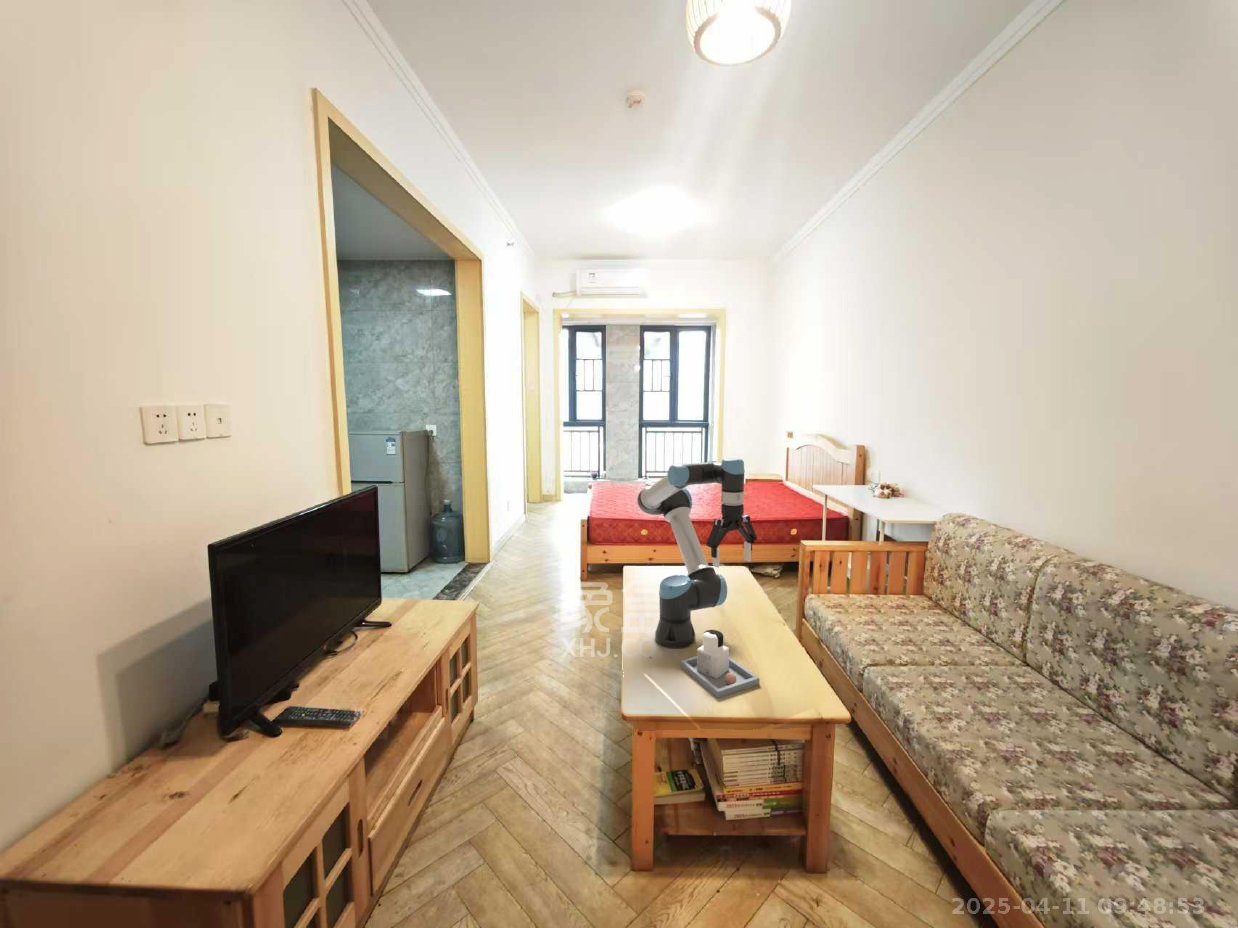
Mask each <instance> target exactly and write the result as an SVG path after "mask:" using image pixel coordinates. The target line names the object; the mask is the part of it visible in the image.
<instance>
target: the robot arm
mask: <svg viewBox="0 0 1238 928" xmlns="http://www.w3.org/2000/svg"><path fill="white" fill-rule="evenodd" d="M706 484H719V485H721V493H720V494H721V500H720V501H721V506H720V507H721V508H720V509H721V511H720V513H721V516H722V517H721V518H714V519H713V525H712V528H711V531H710V534H709V535H708V538H707V541H706V544H705V545H706V547H708V548H710V552H711V554H710V555H711V558H712V566H711V565H710V564H709V563H708V560H707V558H706V556H705V553H704V551H703V548H702V546H701V542H700V540H699V537H698V535H697V533H696V530H695V528H694V525H693V522H692V520H691V518H690V514H691V512H692V507H693V498H692V495H691V493H690V491H689V490H688V489H687V487H689V486H695V485H706ZM744 491H745V462H744V460H743V459H742V458H735V457H732V458H731V457H730V458H729V457H728V458H723V459H722V460H721V462H720V461H719V462H718V461H716V460H714V461H713V460H712V461H710V460H709V461H706V462H694V463H677V464H672V465H670V466H668V470H667V474H666V475H665V476H663V478H661V479H660V480H658V481H657V482H655V483H654V484H653V485H651V486H650V485H649V486H645V487H644V488H642V490H640V492H639V493H638V495H637V500H636V501H637V505H638V507H639V509H640V510H641V511H642V512H643V513H645V514H646V515H650V516H659V515H660V516H661V515H663V518H664V520H665V522H668V523H669V524H670V528H671V530H672V532H673V535H674V538H675V540H676V542H677V546H678V549H679V552H680V553H681V557H682V559H683V562H684V565H685V568H686V571H687V575H685V574H684V575H683V574H680V575H679V574H676V575H670V576H667V577H665V578H663V579H662V580H661V582H660V584H659V590H658V591H659V592H658V596H659V620H658V622H657V623H658V624H657V626H656V630H655V632H654V633H655V635H654V636H655V637H654V640H655V641H656V642H657V643H658V644H659V645H661V646H663V647H666V648H669V649H683V648H689V647H691V646H692V645H694V644H695V642H696V632H695V629H694V625H693V623H692V617H691V615H692V613H691V612H692V611H697V610H705V609H709V608H715V607H719V606H721V605H723V604H724V603H726V600H727V598H728V597H727V596H728V586H727V581H726V578H725V577H724V576H723V575H722V574H719V573H716V571H715V568H720V548H719V546H720V544H721V543H722V541H723V540H724V538H725V537H726V536H727V534H728V533H729V532H732V531H738V532H739V533H740V535H741V536H742V537H743V538H744V542H743V560H744V561H747V562H751V561H752V560H751V559H752V551H753V544H755V541H757V540H758V537H757V535H756V532H755V529H754V527H753V524H752V522H751V516H750V515H747V514H745V512H744V510H745V508H744V507H745V504H744V502H745V499H744V498H745V492H744ZM743 524H744V525H743ZM714 567H715V568H714Z"/></svg>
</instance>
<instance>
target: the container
mask: <svg viewBox="0 0 1238 928" xmlns="http://www.w3.org/2000/svg"><path fill="white" fill-rule="evenodd" d="M696 656H697V671H699V672H701V673H703V674H706V675H708V676H711V677H713V678H716V679H718V678H719V677H720V676H722V675H723V674H724V673H725V672H727V671H728V670H729V657H730V647H728V646H725V645H724V634H723V632H721V631H719V630H716V629H707V630H705V631H704V632H703V633H702V645H701V646H700V647H698V648H697V649H696Z"/></svg>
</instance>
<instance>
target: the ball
mask: <svg viewBox="0 0 1238 928" xmlns="http://www.w3.org/2000/svg"><path fill="white" fill-rule="evenodd" d="M725 681H726V683H727V684H728V685H731V684H734V683H736V676H735V675H734V674H733V673H728V674H726V676H725Z"/></svg>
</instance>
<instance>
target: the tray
mask: <svg viewBox="0 0 1238 928" xmlns="http://www.w3.org/2000/svg"><path fill="white" fill-rule="evenodd" d="M680 667H681V669H683V670H684V671H685V672H687V674H689V676H691V677H693V679H695V681H696V682H698V683H699V684H700V685H702V686H703V688H705V689H706V690H708V691H709V692H710V693H711V694H712V695H713V696H715V698H716V699H720V698H724V697H727V696H729V695H732V694H734V693H737V692H740V691H743V690H746V689H751V688H753V687H756V686H758V685H760V677H759V676H757V675H756V674H755V673H753V672H752V671H750V670H749V669H747V668H746V667H745V666H743V665H742V664H741V663H739V662H737V661H736V660H735V659H733V658H732V657H730V656H729V670H728V671H727V672H725V673H724V674H723V675H722V676H720V677H719V678H718V679H716V678H713V677H711V676H708V675H706V674H703V673H701V672H699V671H697V655H696V656H692V657H689V658H685V659H683V660H680ZM728 673H733V674H734V675H735V676H736V683H734V684H731V685H728V684H727V683H726V681H725V676H726V674H728Z"/></svg>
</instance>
